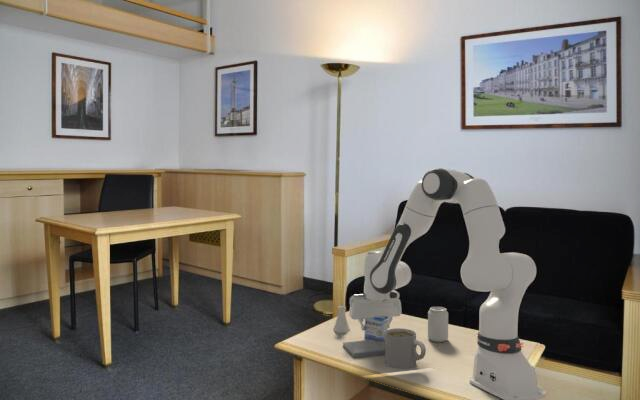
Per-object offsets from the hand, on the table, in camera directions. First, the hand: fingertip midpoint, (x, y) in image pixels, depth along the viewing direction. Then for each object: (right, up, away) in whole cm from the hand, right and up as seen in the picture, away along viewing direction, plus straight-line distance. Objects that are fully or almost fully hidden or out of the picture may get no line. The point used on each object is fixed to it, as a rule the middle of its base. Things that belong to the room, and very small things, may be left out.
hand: (375, 329), depth 192 cm
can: (+23, -4, -2) cm, 24 cm away
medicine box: (0, -4, 0) cm, 4 cm away
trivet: (-5, -4, -14) cm, 16 cm away
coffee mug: (+7, -5, -27) cm, 28 cm away
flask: (-12, -4, +8) cm, 15 cm away
